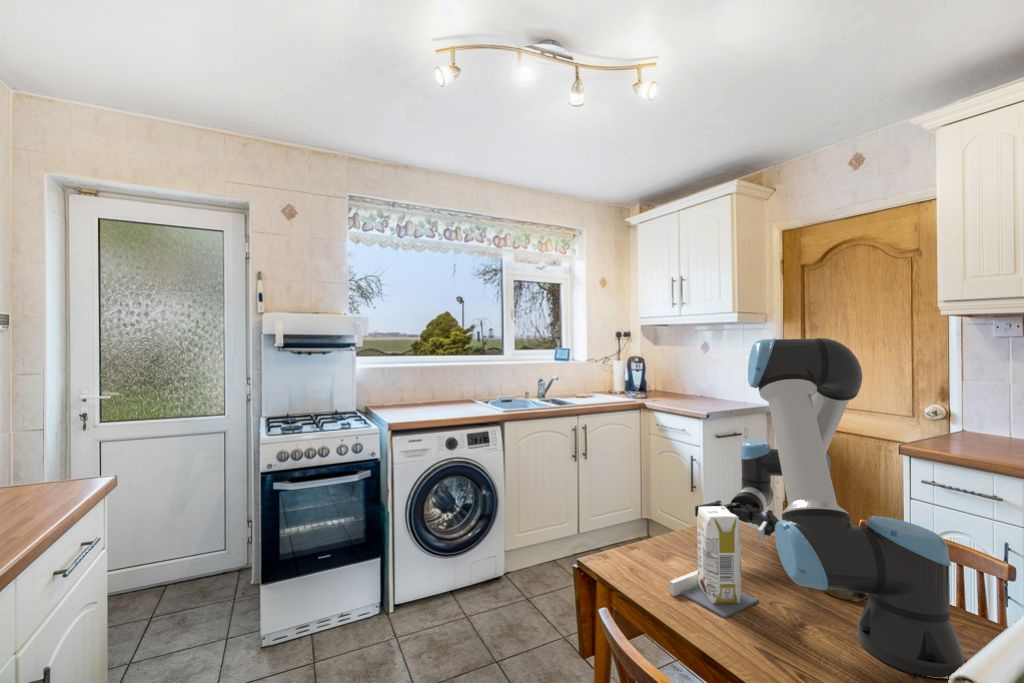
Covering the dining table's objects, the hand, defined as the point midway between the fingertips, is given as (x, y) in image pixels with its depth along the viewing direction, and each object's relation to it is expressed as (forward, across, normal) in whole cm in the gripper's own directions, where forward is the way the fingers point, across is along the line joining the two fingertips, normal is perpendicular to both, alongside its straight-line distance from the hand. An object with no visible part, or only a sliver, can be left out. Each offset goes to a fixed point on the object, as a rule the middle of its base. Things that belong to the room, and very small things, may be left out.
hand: (728, 529), depth 113 cm
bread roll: (-12, -21, -13) cm, 28 cm away
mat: (+8, 0, -13) cm, 15 cm away
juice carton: (+8, 0, -13) cm, 15 cm away
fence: (+6, +6, -13) cm, 16 cm away
